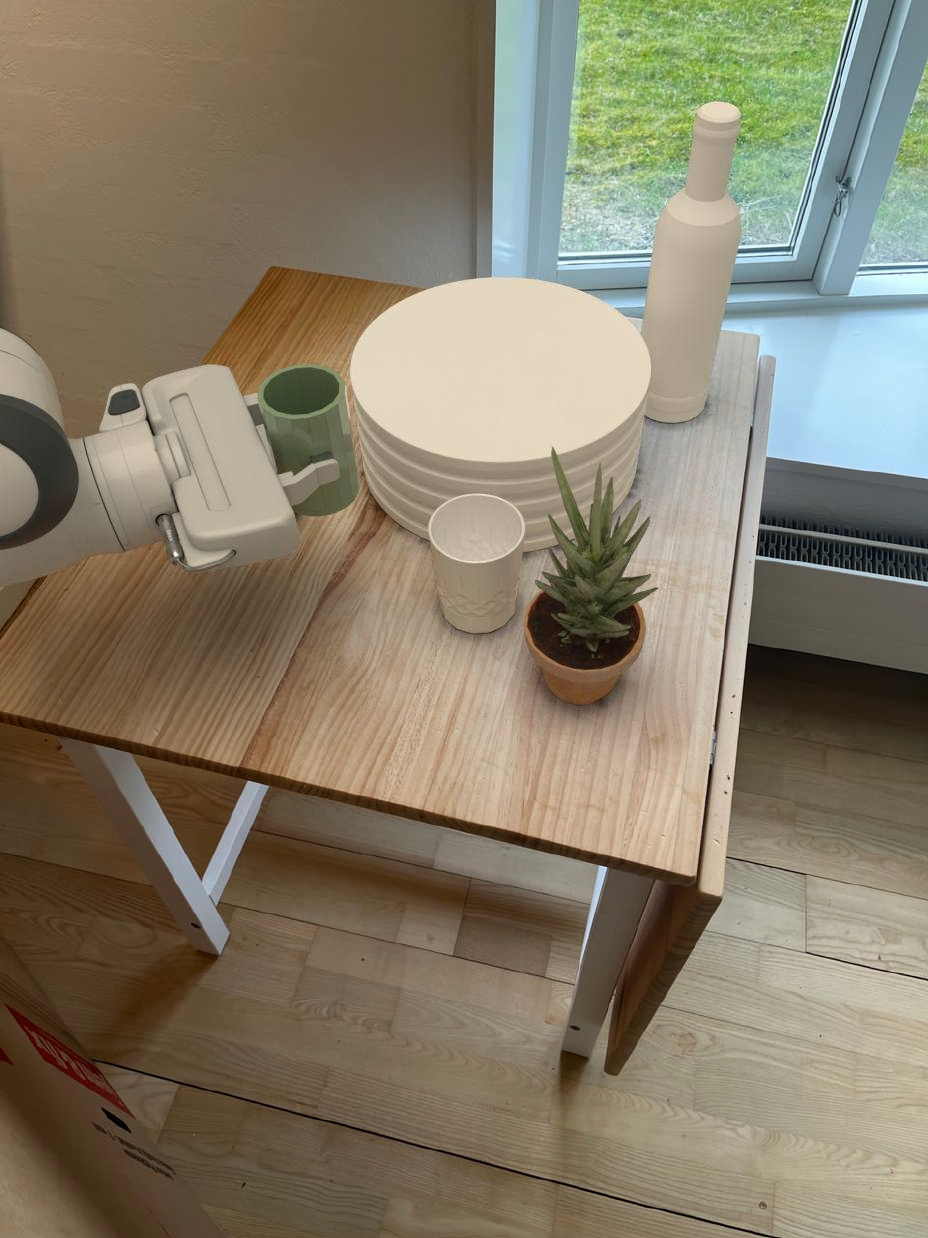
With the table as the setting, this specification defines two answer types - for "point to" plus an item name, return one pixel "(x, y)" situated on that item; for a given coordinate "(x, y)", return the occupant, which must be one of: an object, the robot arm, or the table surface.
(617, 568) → the potted plant
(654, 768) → the table surface
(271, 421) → the tumbler
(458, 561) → the white cup
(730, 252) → the bottle
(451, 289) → the plate stack
